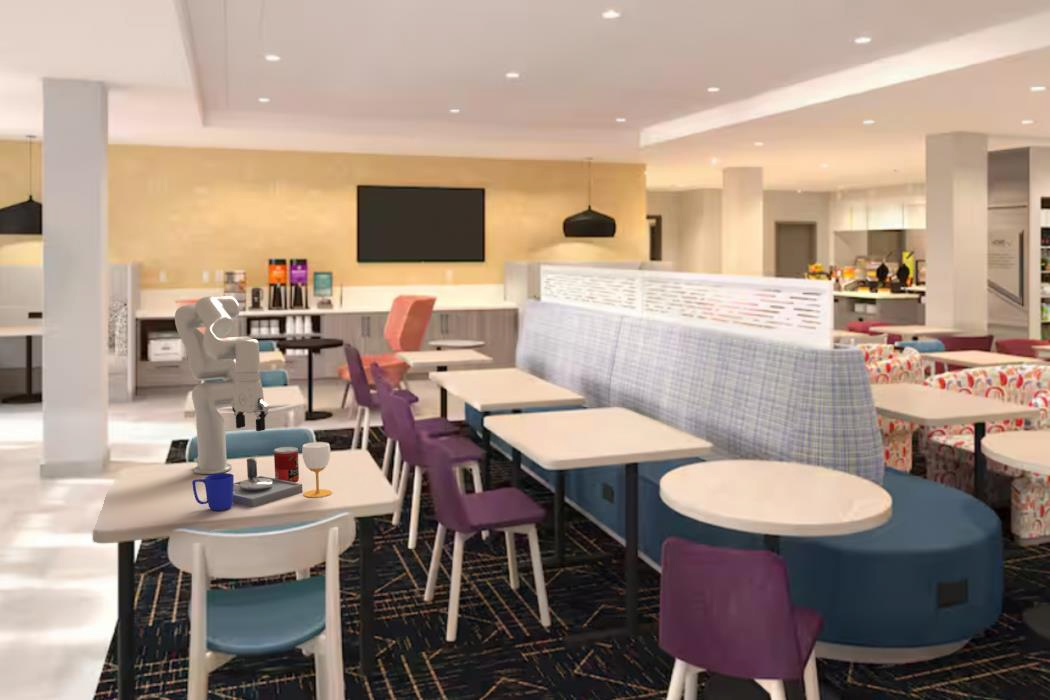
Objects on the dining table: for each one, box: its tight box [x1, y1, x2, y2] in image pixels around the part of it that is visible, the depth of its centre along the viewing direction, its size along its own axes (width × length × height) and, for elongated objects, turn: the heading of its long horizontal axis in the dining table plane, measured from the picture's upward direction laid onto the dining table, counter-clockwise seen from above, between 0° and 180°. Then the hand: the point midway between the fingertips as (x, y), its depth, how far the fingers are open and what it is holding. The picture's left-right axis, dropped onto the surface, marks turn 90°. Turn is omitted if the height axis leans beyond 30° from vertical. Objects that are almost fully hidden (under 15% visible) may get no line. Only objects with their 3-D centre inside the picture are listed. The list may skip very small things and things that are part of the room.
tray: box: [233, 475, 303, 508], centre depth 284 cm, size 20×20×3 cm
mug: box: [192, 472, 235, 512], centre depth 268 cm, size 8×12×10 cm
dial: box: [240, 457, 273, 490], centre depth 285 cm, size 14×10×7 cm
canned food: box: [273, 446, 300, 483], centre depth 300 cm, size 8×8×11 cm
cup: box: [301, 441, 333, 499], centre depth 283 cm, size 9×9×16 cm
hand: (250, 429), depth 288 cm, fingers open, 9 cm apart
